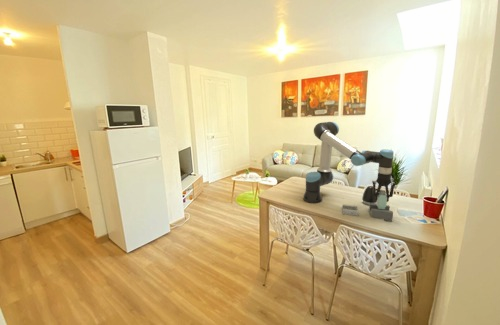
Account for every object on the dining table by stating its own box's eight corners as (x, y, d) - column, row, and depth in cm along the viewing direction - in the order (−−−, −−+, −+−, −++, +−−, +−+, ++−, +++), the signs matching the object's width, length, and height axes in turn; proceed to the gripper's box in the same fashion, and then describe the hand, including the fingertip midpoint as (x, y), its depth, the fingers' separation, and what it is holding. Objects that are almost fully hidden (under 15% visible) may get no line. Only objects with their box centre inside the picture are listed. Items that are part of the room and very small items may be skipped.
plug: (378, 208, 141) (379, 192, 139) (376, 205, 146) (378, 189, 143) (385, 209, 140) (386, 192, 137) (383, 206, 144) (385, 190, 142)
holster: (342, 215, 148) (343, 210, 147) (342, 209, 157) (342, 204, 156) (358, 217, 144) (358, 212, 143) (356, 210, 153) (357, 205, 152)
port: (371, 218, 141) (372, 209, 140) (368, 211, 152) (369, 202, 151) (392, 221, 137) (393, 211, 135) (387, 213, 148) (388, 204, 146)
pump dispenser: (371, 208, 156) (373, 189, 153) (359, 203, 165) (360, 185, 162) (379, 205, 161) (381, 186, 157) (367, 200, 170) (368, 183, 166)
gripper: (370, 173, 137) (367, 206, 142) (401, 175, 131) (397, 209, 136) (369, 170, 144) (366, 201, 149) (398, 172, 137) (394, 204, 143)
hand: (381, 205), depth 143 cm, fingers closed on plug, 4 cm apart
